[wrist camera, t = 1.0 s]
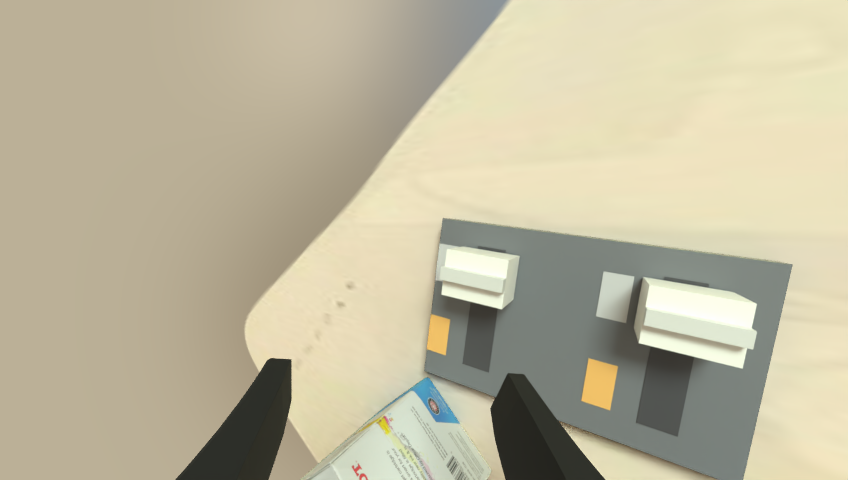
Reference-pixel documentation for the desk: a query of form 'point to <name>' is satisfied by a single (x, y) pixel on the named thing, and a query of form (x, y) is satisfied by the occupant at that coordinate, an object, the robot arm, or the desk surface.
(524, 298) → the switch board
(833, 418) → the desk surface
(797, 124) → the desk surface
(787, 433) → the desk surface
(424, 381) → the ink box
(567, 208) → the desk surface
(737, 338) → the switch tab
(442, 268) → the switch tab
